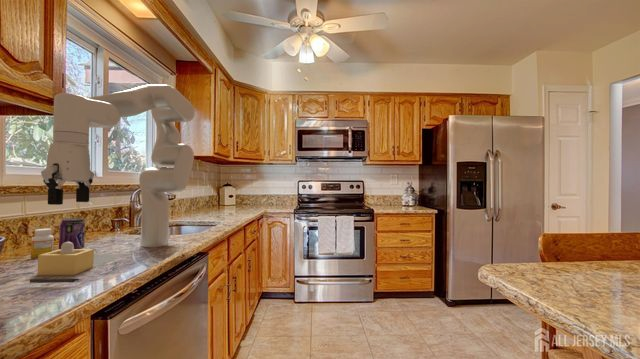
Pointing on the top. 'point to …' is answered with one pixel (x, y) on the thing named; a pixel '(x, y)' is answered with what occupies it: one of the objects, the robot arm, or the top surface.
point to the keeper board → (98, 260)
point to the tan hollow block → (65, 262)
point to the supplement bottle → (42, 242)
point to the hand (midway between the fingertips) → (69, 203)
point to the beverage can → (72, 232)
